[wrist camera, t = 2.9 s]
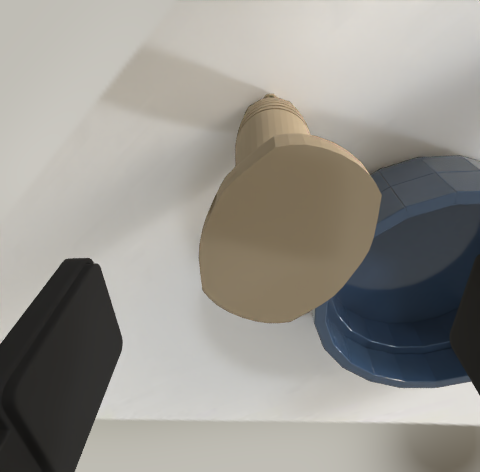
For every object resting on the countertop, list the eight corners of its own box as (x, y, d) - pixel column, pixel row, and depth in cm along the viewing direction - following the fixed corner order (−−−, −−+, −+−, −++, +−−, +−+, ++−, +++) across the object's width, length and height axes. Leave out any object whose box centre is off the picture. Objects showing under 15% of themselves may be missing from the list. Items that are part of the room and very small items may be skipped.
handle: (328, 87, 23) (417, 190, 10) (280, 175, 26) (302, 338, 13) (257, 51, 22) (256, 114, 9) (217, 147, 25) (174, 293, 12)
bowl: (310, 157, 25) (323, 195, 20) (566, 147, 24) (648, 186, 19) (301, 330, 34) (309, 388, 29) (489, 329, 33) (531, 388, 28)
